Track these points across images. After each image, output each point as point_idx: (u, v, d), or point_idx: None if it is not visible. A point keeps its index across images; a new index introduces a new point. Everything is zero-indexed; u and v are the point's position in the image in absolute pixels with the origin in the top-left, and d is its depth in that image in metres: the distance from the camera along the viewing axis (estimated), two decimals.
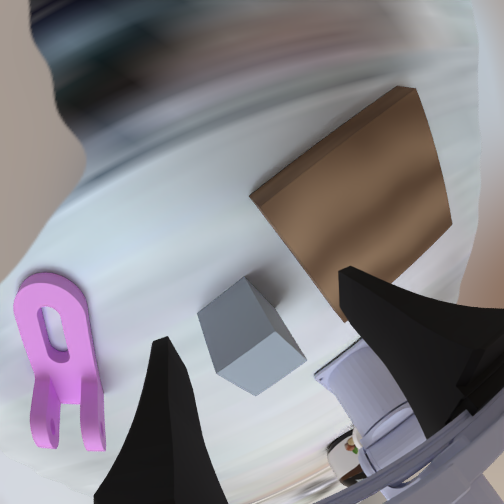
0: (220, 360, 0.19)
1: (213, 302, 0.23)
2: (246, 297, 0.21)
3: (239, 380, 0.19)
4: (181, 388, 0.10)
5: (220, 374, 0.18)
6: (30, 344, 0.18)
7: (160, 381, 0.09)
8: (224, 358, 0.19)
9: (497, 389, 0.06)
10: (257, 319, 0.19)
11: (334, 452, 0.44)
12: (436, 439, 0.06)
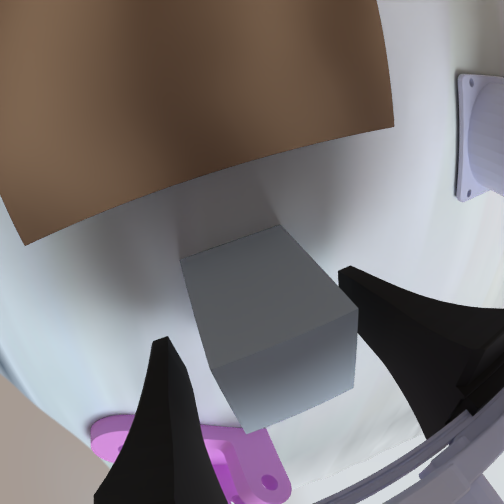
0: None
1: None
2: None
3: (291, 411, 0.10)
4: (181, 388, 0.10)
5: (253, 430, 0.10)
6: None
7: (160, 381, 0.09)
8: None
9: (497, 389, 0.06)
10: None
11: None
12: (436, 439, 0.06)
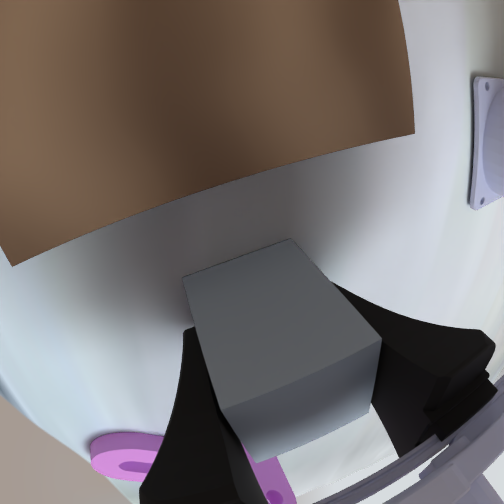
0: None
1: None
2: None
3: (303, 440, 0.09)
4: None
5: (263, 459, 0.09)
6: None
7: (198, 368, 0.09)
8: None
9: (470, 414, 0.06)
10: None
11: None
12: (436, 439, 0.06)
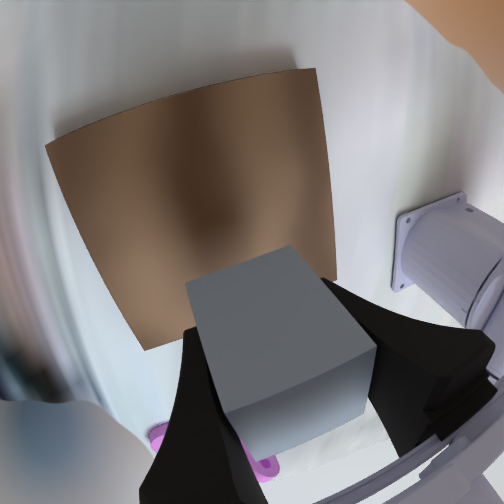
0: None
1: None
2: None
3: (301, 439, 0.10)
4: None
5: (263, 458, 0.10)
6: None
7: (198, 368, 0.09)
8: None
9: (470, 414, 0.06)
10: None
11: None
12: (436, 439, 0.06)
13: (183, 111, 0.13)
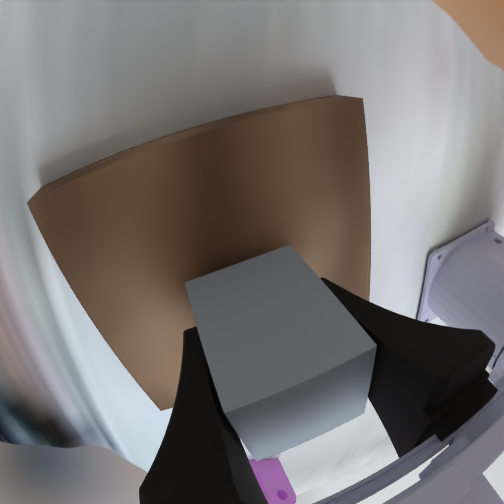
0: None
1: None
2: None
3: (301, 439, 0.10)
4: None
5: (263, 458, 0.10)
6: None
7: (198, 368, 0.09)
8: None
9: (470, 414, 0.06)
10: None
11: None
12: (436, 439, 0.06)
13: (202, 156, 0.11)
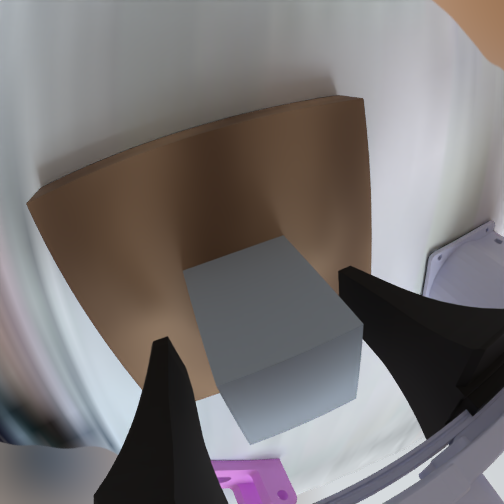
0: None
1: None
2: None
3: (294, 422, 0.10)
4: (181, 388, 0.10)
5: (256, 441, 0.10)
6: None
7: (160, 381, 0.09)
8: None
9: (497, 389, 0.06)
10: None
11: None
12: (436, 439, 0.06)
13: (202, 157, 0.11)
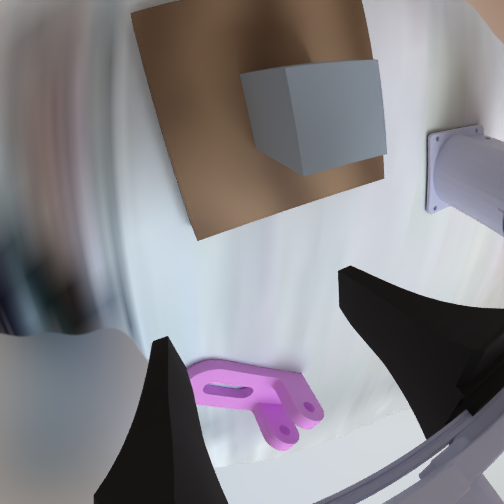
0: (294, 159, 0.13)
1: (251, 123, 0.17)
2: (253, 83, 0.14)
3: (340, 155, 0.13)
4: (181, 388, 0.10)
5: (309, 172, 0.13)
6: (226, 404, 0.30)
7: (160, 381, 0.09)
8: (293, 153, 0.13)
9: (497, 389, 0.06)
10: (271, 83, 0.12)
11: None
12: (436, 439, 0.06)
13: (259, 1, 0.13)
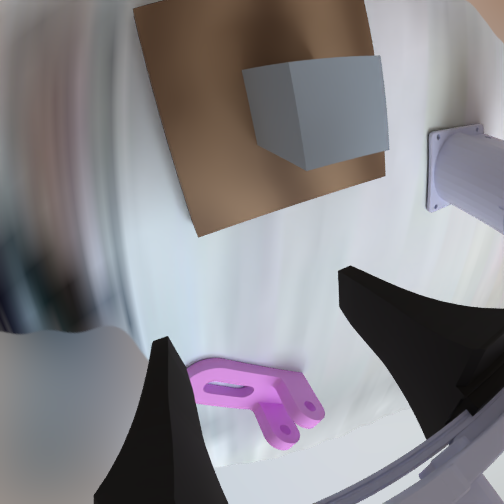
0: (296, 154, 0.13)
1: (253, 119, 0.16)
2: (256, 78, 0.14)
3: (343, 150, 0.13)
4: (181, 388, 0.10)
5: (312, 167, 0.12)
6: (226, 403, 0.29)
7: (160, 381, 0.09)
8: (296, 147, 0.13)
9: (497, 389, 0.06)
10: (274, 77, 0.12)
11: None
12: (436, 439, 0.06)
13: None
